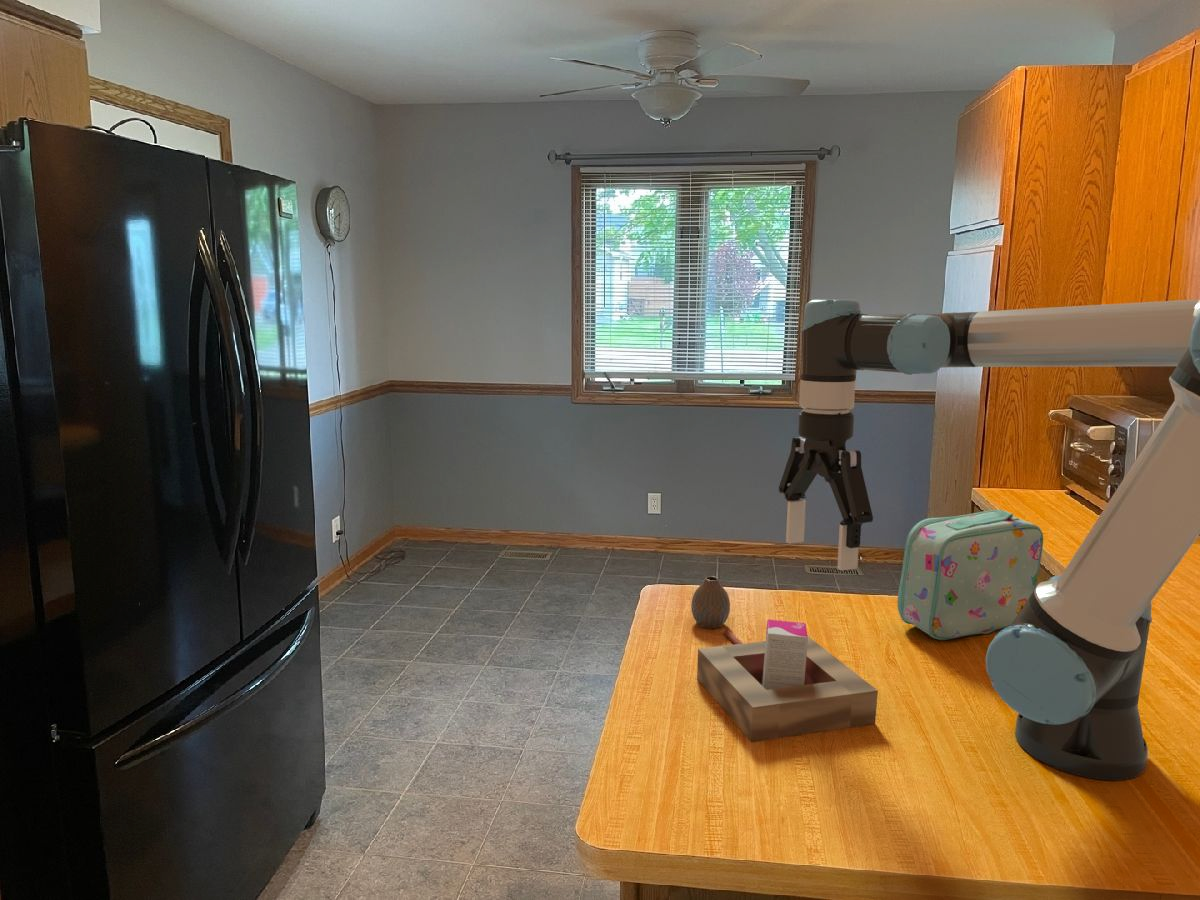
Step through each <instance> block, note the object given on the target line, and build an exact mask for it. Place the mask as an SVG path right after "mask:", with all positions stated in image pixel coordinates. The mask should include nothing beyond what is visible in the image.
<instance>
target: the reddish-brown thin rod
mask: <svg viewBox="0 0 1200 900" xmlns="http://www.w3.org/2000/svg"><path fill="white" fill-rule="evenodd" d="M723 634H724V635H725V636H726V637H727V638H728V639H729V640H730V641H731V642H732V643H734V644H743V642H742V640H740V639H739V638H738V637H737V636H736V635H735V634H734V633H733V632H731V631H730V629H728V628H724V630H723Z"/></svg>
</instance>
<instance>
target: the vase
mask: <svg viewBox="0 0 1200 900" xmlns="http://www.w3.org/2000/svg"><path fill="white" fill-rule="evenodd" d="M690 607H691V614H692V617H693V619H694V620H695V623H696V624H698V625H699V626H700V627H701V628H704V629H711V630H712V629H718V628H720V627H721V626H723V625H724V624H725V623H726V622H727V620H728V618H729V615H730V612H731V610H730V609H731V602H730V598H729V595H728V593H727V591H726V589H725V588H724V586H723V585H722V584H721V582H720V579H719V577H716V576H713V575H710V576H708V575H707V576H705V578H704V579H703V581H702V583H701V584H700V585H699V586H698V587H697V588H696V589H695V591H694V593H693V594H692V598H691V605H690Z"/></svg>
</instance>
